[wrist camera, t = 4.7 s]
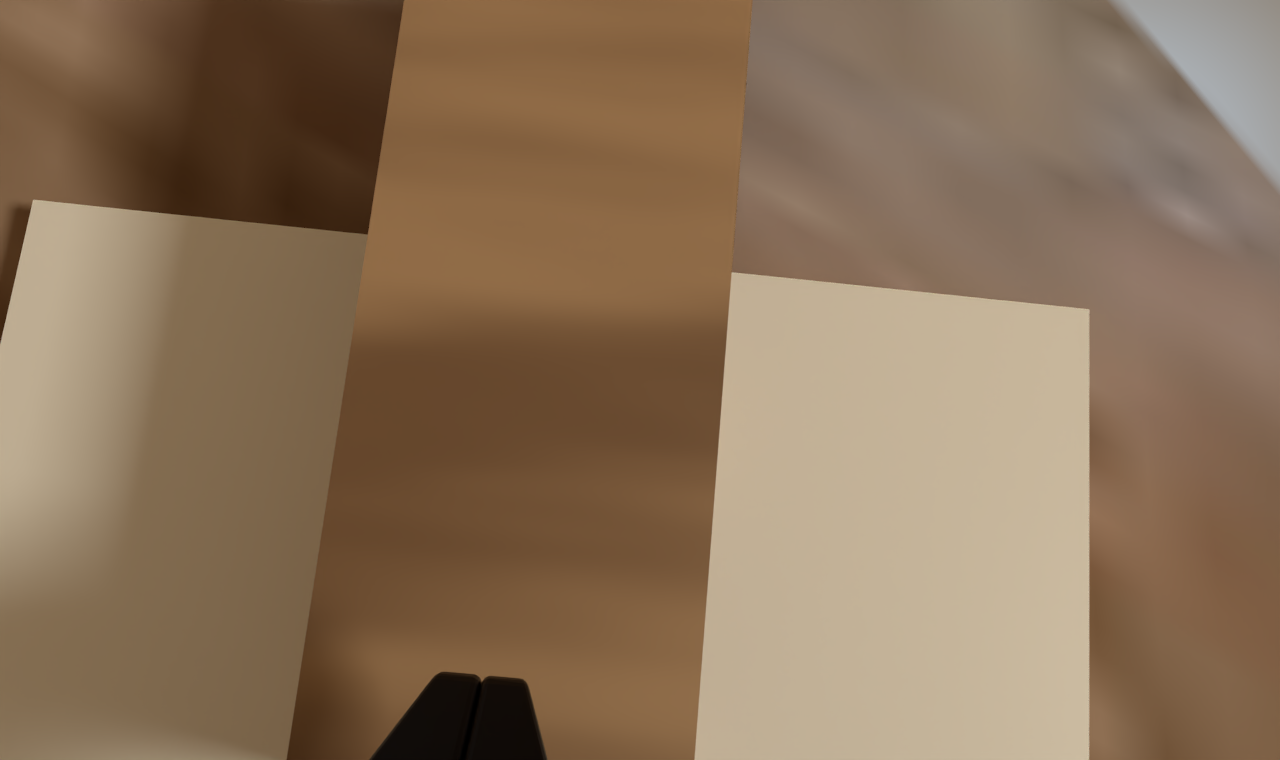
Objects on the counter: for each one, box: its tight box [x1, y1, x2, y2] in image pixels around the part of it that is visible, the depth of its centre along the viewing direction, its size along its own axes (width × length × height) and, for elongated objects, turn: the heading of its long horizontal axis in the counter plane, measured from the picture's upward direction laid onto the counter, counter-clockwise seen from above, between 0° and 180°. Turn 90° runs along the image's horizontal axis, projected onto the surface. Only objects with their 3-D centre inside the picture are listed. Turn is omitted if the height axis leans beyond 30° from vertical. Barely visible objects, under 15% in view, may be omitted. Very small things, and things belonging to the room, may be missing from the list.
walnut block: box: [287, 0, 752, 760], centre depth 15 cm, size 4×4×13 cm
